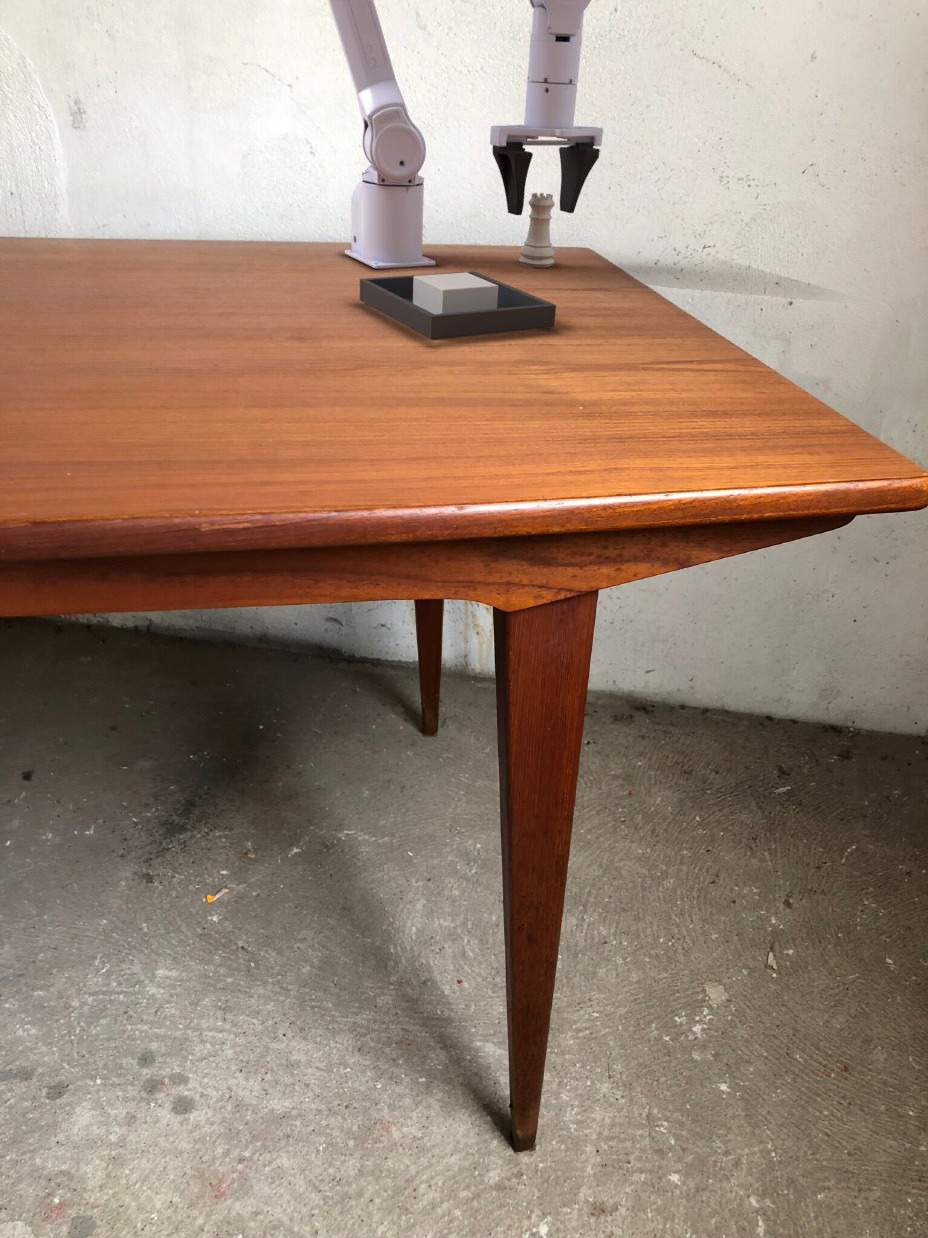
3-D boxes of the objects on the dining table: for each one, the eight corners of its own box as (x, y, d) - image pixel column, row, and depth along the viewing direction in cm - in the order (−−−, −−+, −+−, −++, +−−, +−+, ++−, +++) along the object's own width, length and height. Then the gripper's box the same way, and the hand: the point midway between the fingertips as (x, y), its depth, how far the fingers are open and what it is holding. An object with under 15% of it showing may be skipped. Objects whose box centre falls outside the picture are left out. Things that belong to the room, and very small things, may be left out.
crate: (359, 305, 91) (359, 278, 90) (472, 296, 97) (474, 270, 96) (430, 346, 80) (431, 316, 79) (553, 332, 86) (556, 304, 85)
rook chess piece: (551, 269, 111) (558, 198, 107) (515, 265, 112) (521, 194, 107) (555, 262, 115) (562, 193, 111) (521, 259, 115) (526, 190, 111)
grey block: (412, 307, 89) (413, 275, 88) (465, 303, 92) (467, 272, 90) (441, 322, 85) (443, 289, 83) (496, 317, 87) (498, 285, 86)
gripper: (517, 82, 97) (508, 220, 104) (624, 86, 103) (608, 215, 110) (483, 79, 102) (476, 210, 109) (587, 82, 108) (574, 206, 115)
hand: (541, 212), depth 110 cm, fingers open, 7 cm apart
